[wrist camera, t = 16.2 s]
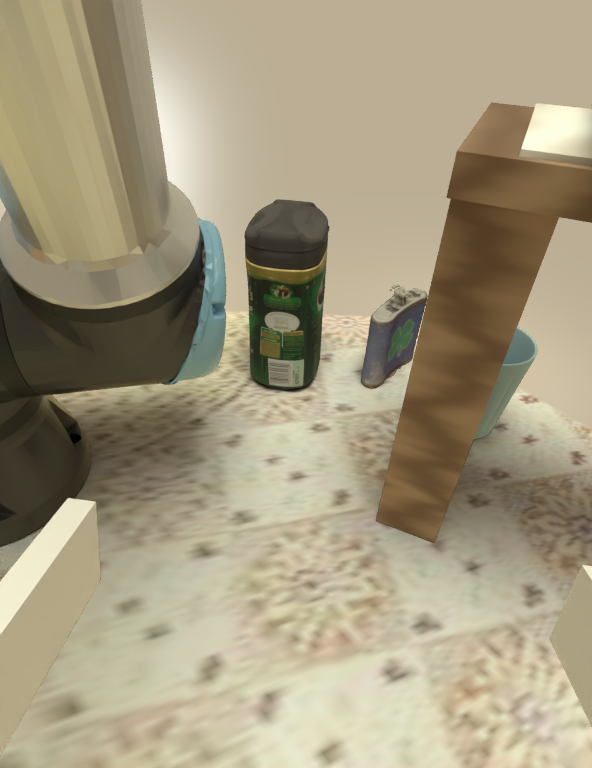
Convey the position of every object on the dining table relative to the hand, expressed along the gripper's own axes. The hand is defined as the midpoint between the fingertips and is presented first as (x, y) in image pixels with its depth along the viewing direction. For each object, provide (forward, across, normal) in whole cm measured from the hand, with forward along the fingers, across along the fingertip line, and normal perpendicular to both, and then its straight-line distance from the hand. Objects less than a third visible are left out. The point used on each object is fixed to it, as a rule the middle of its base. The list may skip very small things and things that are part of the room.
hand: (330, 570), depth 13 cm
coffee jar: (+44, -4, -11) cm, 45 cm away
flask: (+44, +8, -10) cm, 46 cm away
